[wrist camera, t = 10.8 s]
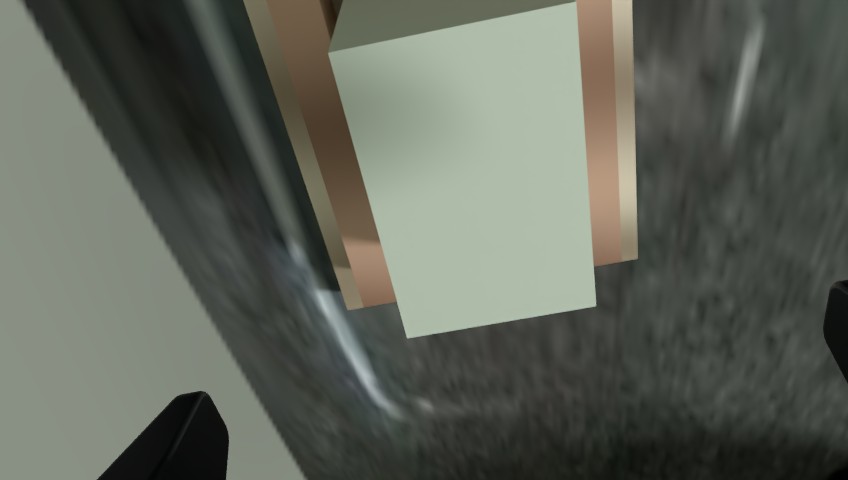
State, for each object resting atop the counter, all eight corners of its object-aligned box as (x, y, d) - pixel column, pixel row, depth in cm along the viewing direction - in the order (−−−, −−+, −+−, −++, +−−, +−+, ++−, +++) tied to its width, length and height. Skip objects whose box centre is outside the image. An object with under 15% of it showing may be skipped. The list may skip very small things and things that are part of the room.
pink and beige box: (629, 242, 23) (657, 295, 20) (349, 292, 24) (344, 349, 21) (613, -250, 15) (656, -262, 13) (203, -152, 16) (167, -145, 14)
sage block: (522, -57, 17) (576, 1, 12) (547, 184, 20) (596, 306, 15) (348, -20, 17) (327, 52, 12) (404, 210, 21) (407, 338, 16)
